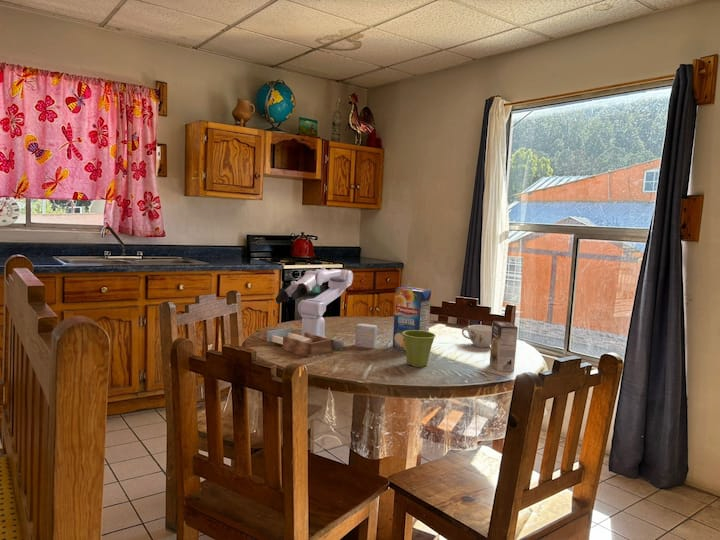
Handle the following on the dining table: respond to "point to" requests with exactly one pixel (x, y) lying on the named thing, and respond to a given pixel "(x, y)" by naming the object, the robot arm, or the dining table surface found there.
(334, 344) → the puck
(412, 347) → the plant pot
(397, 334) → the juice carton
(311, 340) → the tray
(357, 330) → the medicine box
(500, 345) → the coffee box
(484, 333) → the teacup
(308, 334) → the shallow wooden crate
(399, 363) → the dining table surface
